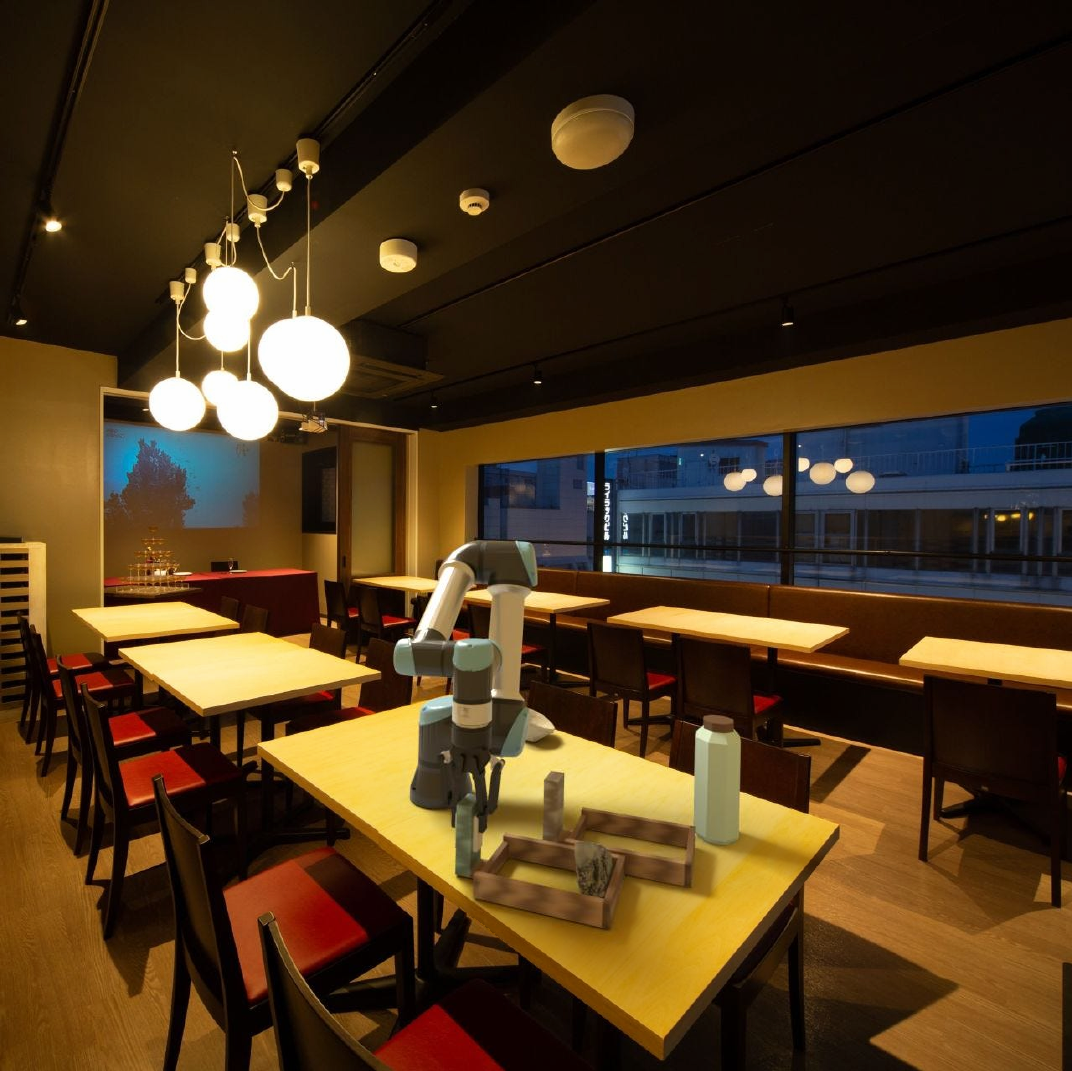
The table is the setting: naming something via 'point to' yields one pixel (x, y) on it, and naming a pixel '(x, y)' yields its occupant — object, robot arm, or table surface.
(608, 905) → the frame
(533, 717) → the bowl
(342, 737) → the table surface
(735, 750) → the water bottle
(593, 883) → the stone
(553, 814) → the empty lane
